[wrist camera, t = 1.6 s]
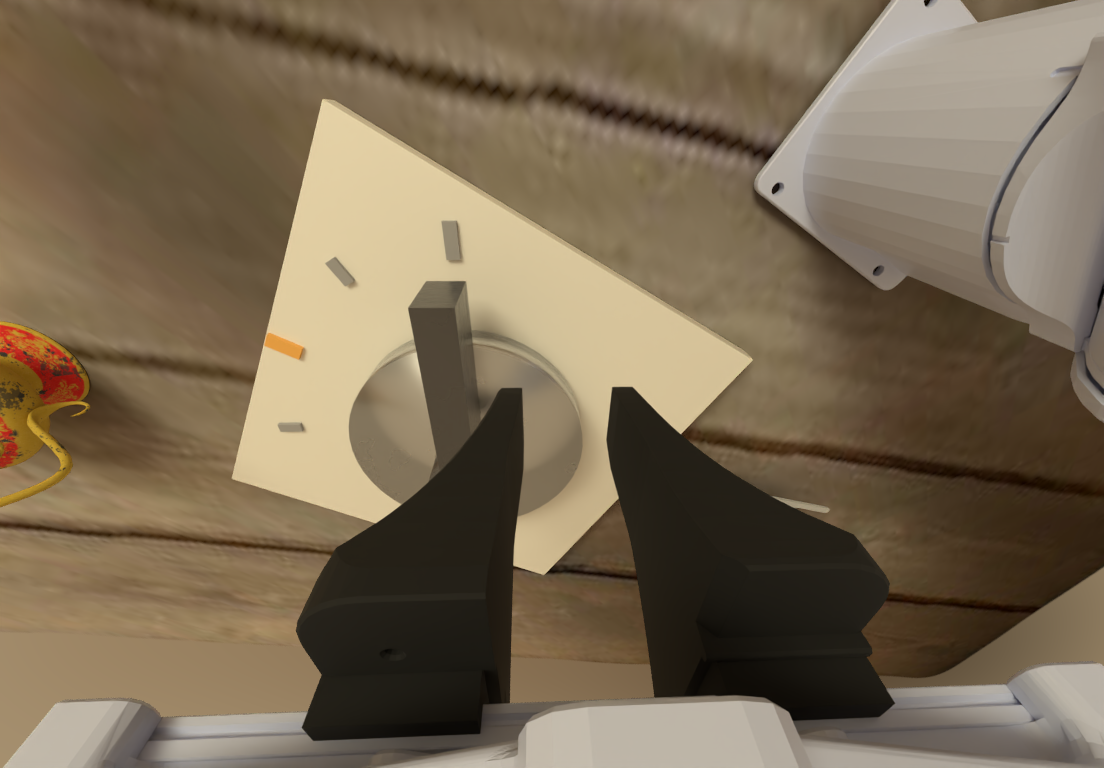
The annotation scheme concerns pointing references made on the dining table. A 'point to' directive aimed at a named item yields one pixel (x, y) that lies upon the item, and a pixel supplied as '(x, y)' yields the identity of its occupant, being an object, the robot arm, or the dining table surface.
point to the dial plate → (495, 306)
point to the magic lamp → (35, 399)
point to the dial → (460, 402)
